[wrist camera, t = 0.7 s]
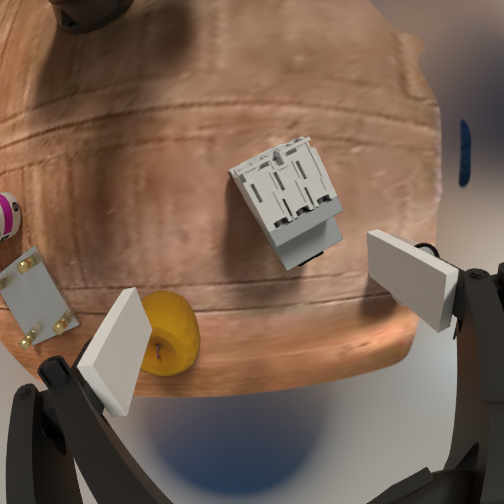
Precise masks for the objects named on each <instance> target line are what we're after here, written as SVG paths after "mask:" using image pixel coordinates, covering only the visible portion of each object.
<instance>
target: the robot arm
mask: <svg viewBox="0 0 504 504" xmlns="http://www.w3.org/2000/svg"><path fill="white" fill-rule="evenodd" d="M48 1H49V2H50V3H51V4H52V6H53V10H54V13H55V17H56V20H57V22H58V24H59V25H60V26H61V27H62V28H63V29H64V30H66V31H67V32H70V33H76V34H78V33H86V32H89V31H93V30H95V29H98V28H100V27H102V26H104V25H106V24H107V23H109V22H111V21H112V20H114V19H115V18H116V17H118V16H119V15H120V14H121V13H122V12H123V11H124V10H125V9H126V8H127V7H128V6H129V5H130V4H131V2H132V1H133V0H48ZM367 244H368V263H369V276H370V277H371V278H372V279H374V280H375V281H376V282H377V283H379V284H380V285H381V286H383V287H384V288H385V289H386V290H388V291H389V292H390V293H391V294H392V295H394V296H395V297H396V298H397V299H399V300H400V301H401V302H402V303H404V304H405V305H406V306H407V307H408V308H410V309H411V310H412V311H413V312H414V313H416V314H417V315H418V316H419V317H420V318H422V319H423V320H424V321H425V322H426V323H427V324H429V325H430V326H431V327H432V328H433V329H435V330H436V331H437V332H438V333H439V332H440V331H442V330H444V329H446V328H448V327H449V326H450V323H451V318H452V314H453V315H454V316H455V317H457V323H456V328H455V332H454V336H453V339H455V337H456V336H457V397H456V410H455V411H456V412H455V420H454V429H453V437H452V443H451V449H450V454H449V457H448V459H447V462H446V464H445V466H444V469H443V470H441V471H437V472H432V473H430V471H429V469H428V468H427V467H425V468H424V469H422V470H420V471H419V472H417V473H415V474H413V475H412V476H410V477H408V478H406V479H404V480H402V481H400V482H398V483H396V484H394V485H392V486H391V487H389V488H388V489H387V490H385V491H384V492H383V493H381V494H380V495H379V496H377V497H376V498H374V499H373V500H372V501H370V502H369V503H367V504H504V262H503V263H500V264H499V267H498V273H497V274H495V275H490V274H489V273H488V272H487V271H485V270H482V269H476V268H474V269H469V270H467V271H466V272H465V271H464V270H461V269H460V268H458V267H456V266H454V265H452V264H449V263H448V262H447V261H443V259H441V258H439V257H437V256H433V255H430V254H428V253H426V252H424V251H422V250H420V249H418V248H416V247H414V246H412V245H410V244H408V243H406V242H404V241H402V240H399V239H397V238H395V237H393V236H391V235H389V234H387V233H384V232H382V231H380V230H378V229H377V230H373V231H369V232H367ZM151 332H152V327H151V325H150V322H149V320H148V318H147V315H146V313H145V310H144V308H143V305H142V303H141V300H140V298H139V295H138V293H137V290H136V287H133V288H129V289H124V290H123V291H122V292H121V294H120V296H119V297H118V299H117V300H116V302H115V303H114V305H113V306H112V308H111V310H110V311H109V313H108V314H107V316H106V317H105V319H104V321H103V322H102V324H101V326H100V327H99V329H98V331H97V332H96V334H95V336H94V337H92V338H91V339H90V340H89V341H88V342H87V343H86V344H85V345H84V347H83V348H82V350H81V351H82V352H80V354H79V355H78V357H77V359H76V360H75V362H74V364H73V366H72V367H71V369H70V368H69V366H68V364H67V363H66V361H65V360H64V358H63V357H62V356H59V355H57V356H53V357H50V358H48V359H47V360H45V361H44V362H43V363H42V364H41V365H40V366H39V368H38V374H39V376H40V377H41V379H42V380H43V382H44V383H45V385H46V386H47V387H48V390H45V391H42V392H39V391H38V390H37V388H36V387H35V385H34V384H26V385H24V386H21V387H20V388H19V389H18V390H17V392H16V393H15V395H14V399H13V405H12V410H11V417H10V424H9V433H8V442H7V455H6V501H7V504H83V501H82V497H81V493H80V489H79V484H78V480H77V475H76V470H75V464H74V459H75V461H76V463H77V465H78V468H79V470H80V472H81V474H82V476H83V477H84V479H85V481H86V483H87V485H88V487H89V489H90V491H91V492H92V494H93V496H94V498H95V499H96V501H97V503H98V504H173V503H172V502H171V501H170V500H169V499H168V498H167V497H166V496H165V495H164V493H163V492H162V491H161V490H160V489H159V488H158V487H157V486H156V485H155V483H154V482H153V481H152V480H151V479H150V478H149V477H148V475H147V474H146V473H145V472H144V471H143V469H142V468H141V467H140V466H139V464H138V463H137V462H136V461H135V459H134V458H133V457H132V455H131V454H130V453H129V451H128V450H127V449H126V447H125V446H124V445H123V443H122V442H121V440H120V439H119V438H118V436H117V435H116V433H115V432H114V430H113V429H112V427H111V426H110V424H109V423H108V421H107V419H106V418H105V417H104V416H103V414H102V413H103V410H104V407H105V408H106V410H107V411H108V412H109V413H110V415H111V416H127V415H128V411H129V407H130V403H131V399H132V396H133V392H134V388H135V385H136V381H137V378H138V374H139V371H140V367H141V364H142V361H143V357H144V354H145V351H146V348H147V344H148V341H149V338H150V335H151ZM73 457H74V458H73Z"/></svg>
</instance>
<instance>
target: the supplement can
mask: <svg viewBox="0 0 504 504" xmlns="http://www.w3.org/2000/svg"><path fill="white" fill-rule="evenodd" d="M20 220H21V212H20V207H19V204H18V202H17V199H16V198H15V197H14V196H13V194H11V193H9V192H2V193H0V242H2V241H4V240H6V239H8V238H10V237H12V236H14V235H15V234H16V233H17V231H18V229H19V226H20Z"/></svg>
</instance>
